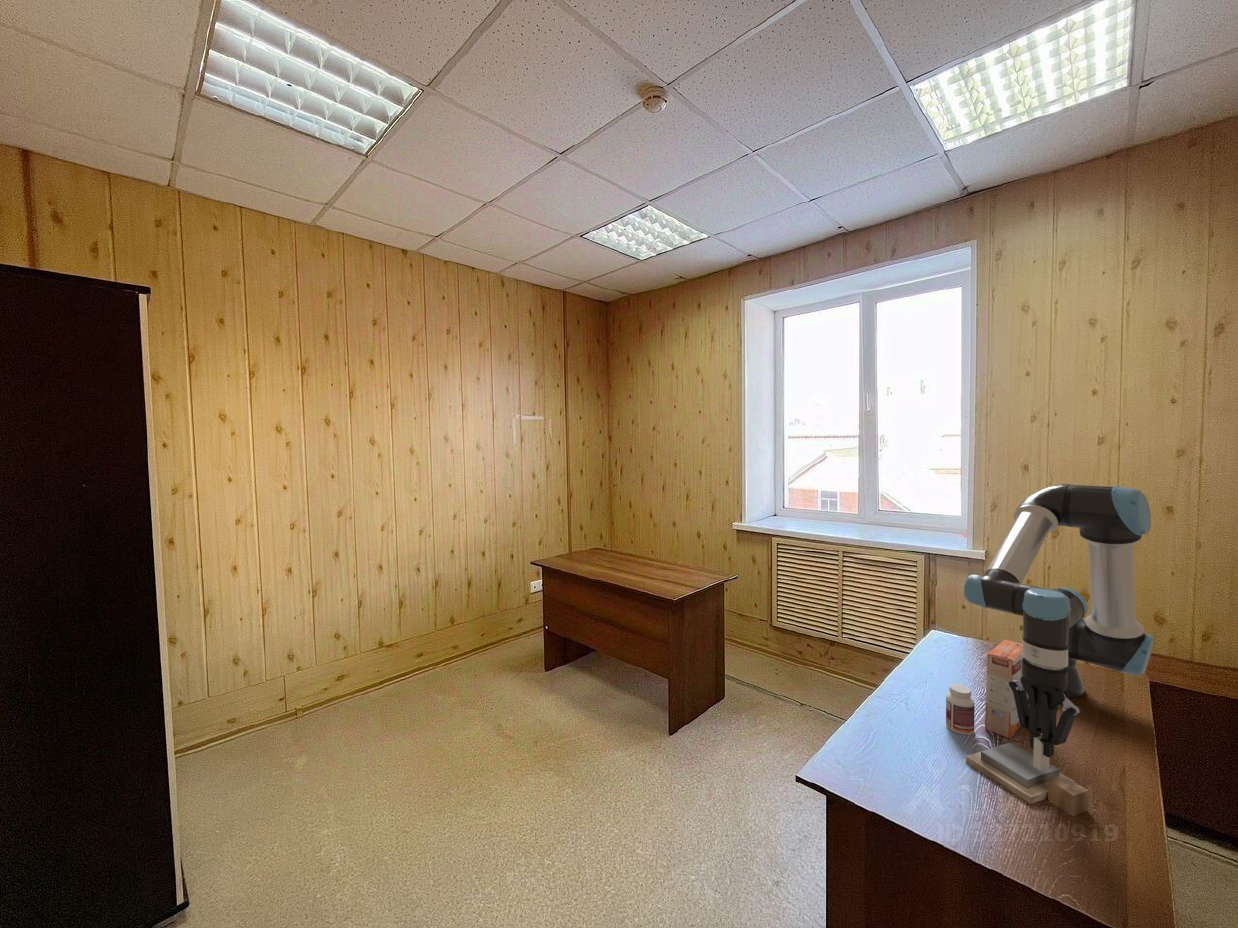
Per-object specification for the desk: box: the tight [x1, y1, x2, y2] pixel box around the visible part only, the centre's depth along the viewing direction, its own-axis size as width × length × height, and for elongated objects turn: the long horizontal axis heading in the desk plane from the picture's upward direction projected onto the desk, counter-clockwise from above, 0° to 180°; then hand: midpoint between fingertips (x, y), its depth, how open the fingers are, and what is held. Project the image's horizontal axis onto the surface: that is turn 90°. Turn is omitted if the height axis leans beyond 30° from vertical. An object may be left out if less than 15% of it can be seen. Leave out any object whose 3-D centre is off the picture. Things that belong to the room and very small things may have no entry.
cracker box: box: [984, 639, 1028, 740], centre depth 129 cm, size 14×6×21 cm, turn 126°
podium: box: [965, 742, 1077, 805], centre depth 111 cm, size 14×14×4 cm
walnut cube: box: [1047, 776, 1090, 817], centre depth 102 cm, size 4×4×4 cm
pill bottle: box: [945, 683, 976, 736], centre depth 129 cm, size 6×6×11 cm
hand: (1041, 766), depth 107 cm, fingers closed
